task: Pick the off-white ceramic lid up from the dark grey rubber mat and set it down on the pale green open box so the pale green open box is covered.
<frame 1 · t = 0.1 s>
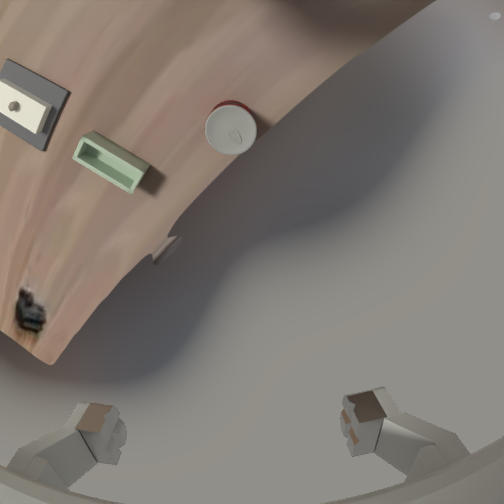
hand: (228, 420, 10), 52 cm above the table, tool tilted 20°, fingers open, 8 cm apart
canned food: (231, 120, 53), on the table
mat: (23, 103, 45), on the table
pale green open box: (115, 157, 54), on the table
lid: (21, 103, 44), point 1 cm above the table, touching mat
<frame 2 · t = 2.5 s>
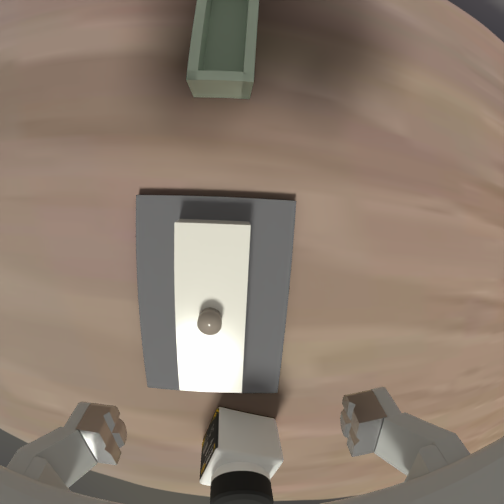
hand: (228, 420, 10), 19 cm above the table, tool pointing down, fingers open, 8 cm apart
mat: (212, 303, 29), on the table
medicine bottle: (237, 430, 33), on the table
pale green open box: (227, 33, 24), on the table
lid: (211, 307, 28), point 1 cm above the table, touching mat
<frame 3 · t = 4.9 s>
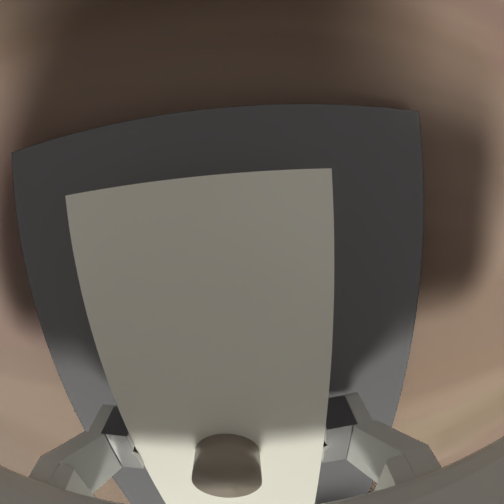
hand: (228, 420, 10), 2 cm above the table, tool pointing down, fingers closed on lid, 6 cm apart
mat: (229, 391, 11), on the table
lid: (229, 404, 11), point 1 cm above the table, touching gripper, mat
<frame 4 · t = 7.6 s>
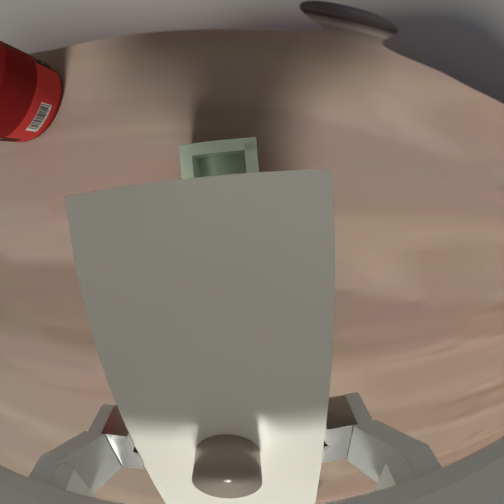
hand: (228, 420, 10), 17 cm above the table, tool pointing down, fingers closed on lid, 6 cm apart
canned food: (35, 103, 22), on the table
pale green open box: (229, 233, 25), on the table
lid: (229, 404, 10), point 16 cm above the table, touching gripper
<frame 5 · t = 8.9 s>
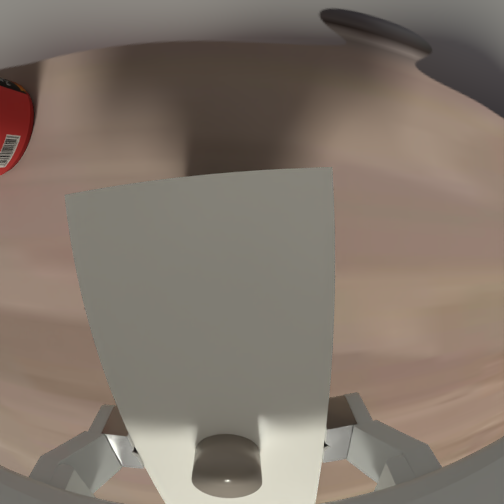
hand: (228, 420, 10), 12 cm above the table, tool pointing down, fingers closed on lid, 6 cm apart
canned food: (6, 130, 18), on the table
lid: (229, 404, 10), point 11 cm above the table, touching gripper
when the fingers open (7 cm above the table, at t = 10.3 s): lid drops 1 cm, resting on pale green open box.
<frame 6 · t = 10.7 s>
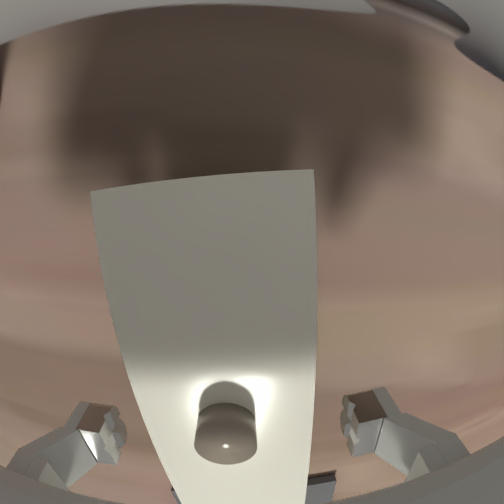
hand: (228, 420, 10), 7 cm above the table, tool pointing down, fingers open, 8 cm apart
lid: (228, 381, 12), point 5 cm above the table, touching pale green open box
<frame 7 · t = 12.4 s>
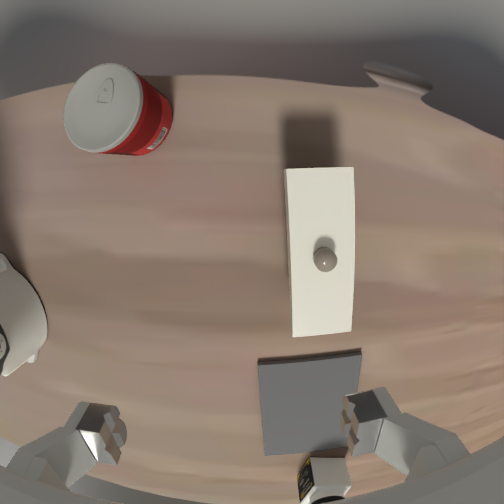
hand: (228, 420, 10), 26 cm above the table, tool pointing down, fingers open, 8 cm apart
canned food: (143, 122, 32), on the table
mat: (308, 410, 42), on the table
medicine bottle: (320, 466, 46), on the table
lid: (318, 250, 30), point 5 cm above the table, touching pale green open box
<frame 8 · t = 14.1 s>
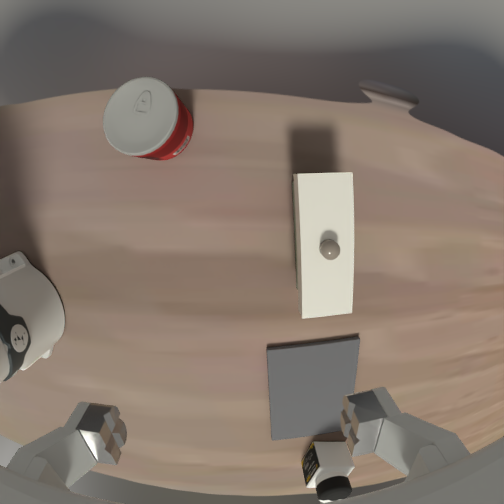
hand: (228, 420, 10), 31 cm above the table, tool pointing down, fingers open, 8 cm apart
canned food: (165, 130, 36), on the table
mat: (312, 393, 46), on the table
medicine bottle: (322, 451, 50), on the table
lid: (322, 243, 35), point 5 cm above the table, touching pale green open box
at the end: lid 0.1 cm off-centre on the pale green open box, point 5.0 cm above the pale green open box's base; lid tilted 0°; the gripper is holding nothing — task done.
